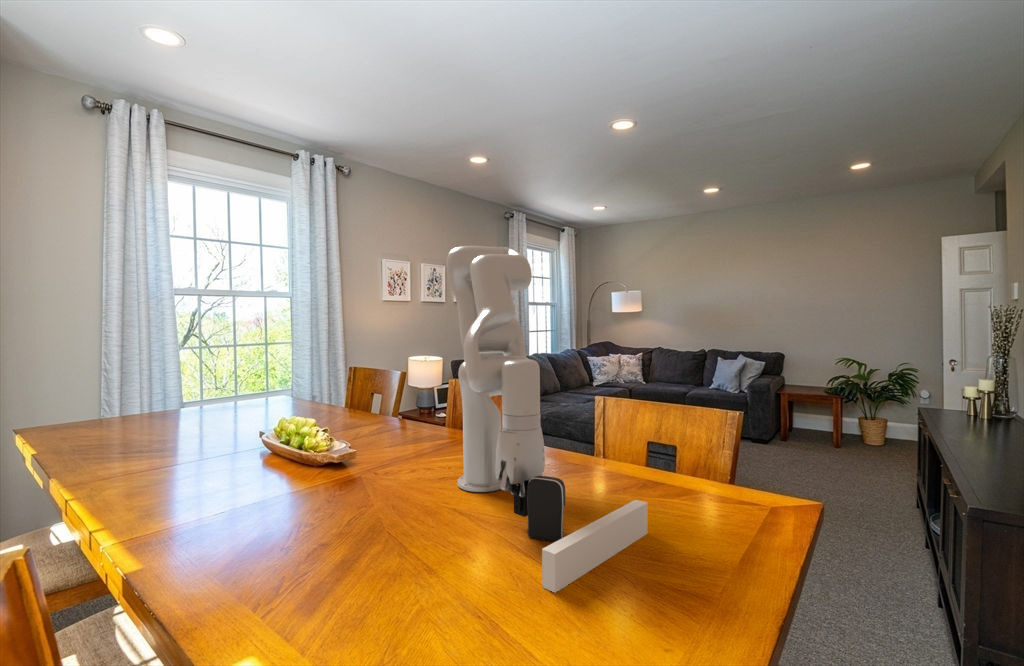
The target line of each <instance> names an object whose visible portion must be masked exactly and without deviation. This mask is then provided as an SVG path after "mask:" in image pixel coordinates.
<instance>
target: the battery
mask: <svg viewBox="0 0 1024 666" xmlns="http://www.w3.org/2000/svg"><path fill="white" fill-rule="evenodd" d="M565 506H566V485H565V482H564V480H562V479H560V478H558V477H554V476H553V477H552V476H547V475H542V476H536V477H534V478H532V479H531V480H530V481H529V482H528V486H527V510H528V515H527V536H528V537H529V538H532V539H535V540H542V541H546V542H548V541H549V542H552V543H554V542H556V541H558V540H560V539H562V538H564V537H565V535H564V533H565V530H564V510H565Z"/></svg>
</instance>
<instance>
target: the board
mask: <svg viewBox="0 0 1024 666" xmlns="http://www.w3.org/2000/svg"><path fill="white" fill-rule="evenodd" d="M648 532H649V531H648V502H646V501H643V500H638V499H634V500H632V501H630V502H628V503H626V504H624V505H623V506H621V507H619V508H616V509H615V510H613V511H611V512H609V513H607V514H606V515H604V516H602V517H600V518H598V519H596V520H595V521H592V522H590V523H589V524H587V525H584V526H583V527H581V528H578V529H577V530H575V531H573V532H571V533H569V534H567V535H566V536H564V537H563V538H562V539H560V540H558V541H556V542H552V543H551V544H548V545H547V546H545V547H542V549H541V569H542V570H541V572H542V573H541V575H542V576H541V579H542V580H541V581H542V584H541V585H542V588H543V589H546V590H547V591H550V592H551V591H552V593H553V592H554V593H553V594H556V593H557V591H558V592H559V591H561V590H562V589H564V588H565V587H567V586H569V585H570V584H571V583H573V582H575V581H576V580H578V579H579V578H581V577H582V576H584V575H586V574H587V573H589V572H590V571H592V570H594V568H596V567H597V568H598V566H599V565H601V564H603V563H604V562H606V561H608V560H609V559H611V558H612V557H613V556H615V555H617V554H618V553H620V552H621V551H623V550H625V549H626V548H628V547H629V546H631V545H632V544H634V543H636V542H637V541H638V540H640V539H642V538H643V537H644V536H646V535H648ZM568 584H569V585H568Z"/></svg>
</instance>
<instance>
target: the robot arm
mask: <svg viewBox="0 0 1024 666" xmlns="http://www.w3.org/2000/svg"><path fill="white" fill-rule="evenodd" d="M446 275H447V280H448V282H449V285H450V288H451V290H452V292H453V295H454V298H455V301H456V307H457V313H458V314H457V315H458V325H459V334H460V342H461V345H462V349H463V360H464V361H463V362H462V363H461V364H460V365H459V368H458V384H459V389H460V396H461V405H462V406H461V408H462V445H463V446H462V450H463V452H462V455H463V457H462V458H463V475H462V476H460V477H458V479H457V486H458V487H459V489H462V490H464V491H467V492H472V493H473V492H474V493H487V492H488V493H489V492H494V491H500V490H502V491H505V492H510V493H511V495H513V513H514V514H515V515H518V516H521V517H523V518H526V517H528V510H527V486H528V482H529V481H530V480H531V479H532V478H534V477H536V476H543V475H542V474H543V473H544V472H545V467H546V466H545V465H546V458H545V457H546V455H545V441H544V436H543V435H544V434H543V430H542V426H541V417H542V416H541V378H540V377H541V376H540V374H541V372H540V369H541V368H540V364H539V362H537V360H534V359H530V358H529V357H527V354H526V346H525V337H524V331H523V328H522V325H521V324H520V322H519V320H518V319H517V318H515V317H514V316H515V314H516V308H515V305H514V299H513V296H512V291H524V290H526V289H528V288H529V286H530V285H531V281H532V275H533V273H532V268H531V265H530V262H529V260H528V258H527V257H526V256H525V255H523V254H522V253H520V252H519V251H517V250H515V249H514V248H511V247H506V246H505V247H504V246H483V245H462V246H457V247H454V248H452V249H451V250H450V251H449V252H448V254H447V258H446ZM481 354H502V355H496V356H495V355H492V356H491V355H489V356H481ZM494 396H495V397H496V396H501V410H500V409H499V407H498V406H497V404H495V402H494V401H493V400H492V398H491V397H494Z"/></svg>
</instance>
